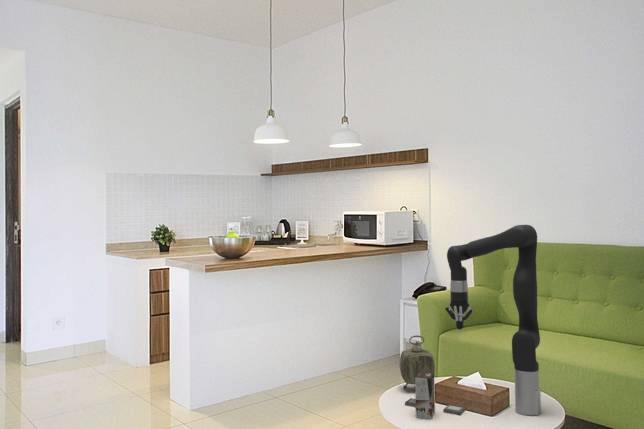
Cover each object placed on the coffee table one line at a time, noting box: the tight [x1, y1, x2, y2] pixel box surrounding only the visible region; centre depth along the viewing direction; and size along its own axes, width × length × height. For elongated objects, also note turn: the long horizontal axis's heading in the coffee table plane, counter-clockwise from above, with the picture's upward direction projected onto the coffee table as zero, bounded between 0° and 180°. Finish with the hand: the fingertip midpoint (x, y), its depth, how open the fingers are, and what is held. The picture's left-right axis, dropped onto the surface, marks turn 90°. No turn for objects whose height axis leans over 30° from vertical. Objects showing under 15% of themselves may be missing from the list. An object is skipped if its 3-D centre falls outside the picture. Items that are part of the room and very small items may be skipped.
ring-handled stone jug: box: [399, 334, 436, 390], centre depth 253 cm, size 14×9×25 cm, turn 94°
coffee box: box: [414, 372, 436, 420], centre depth 222 cm, size 9×6×16 cm
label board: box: [404, 397, 466, 416], centre depth 230 cm, size 24×6×1 cm, turn 57°
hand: (459, 329), depth 246 cm, fingers closed
